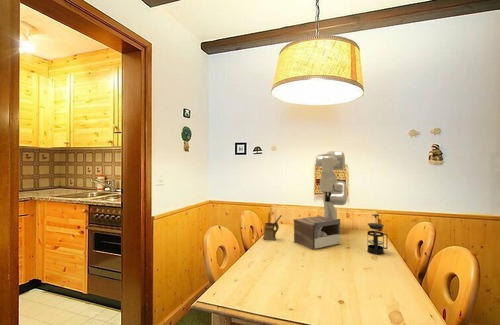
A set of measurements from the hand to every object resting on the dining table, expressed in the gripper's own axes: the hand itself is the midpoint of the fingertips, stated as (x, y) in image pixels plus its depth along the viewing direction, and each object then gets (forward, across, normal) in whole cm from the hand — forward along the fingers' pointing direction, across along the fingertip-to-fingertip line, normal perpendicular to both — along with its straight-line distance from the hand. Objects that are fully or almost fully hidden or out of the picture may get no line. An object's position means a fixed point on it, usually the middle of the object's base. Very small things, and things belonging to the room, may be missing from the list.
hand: (327, 201), depth 180 cm
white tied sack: (+26, -3, -6) cm, 27 cm away
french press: (+28, +29, +10) cm, 42 cm away
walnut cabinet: (+28, -4, -7) cm, 29 cm away
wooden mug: (+28, -26, -27) cm, 47 cm away
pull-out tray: (+27, -2, -7) cm, 28 cm away
